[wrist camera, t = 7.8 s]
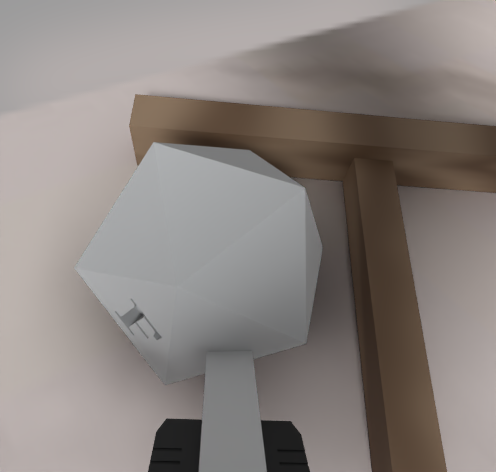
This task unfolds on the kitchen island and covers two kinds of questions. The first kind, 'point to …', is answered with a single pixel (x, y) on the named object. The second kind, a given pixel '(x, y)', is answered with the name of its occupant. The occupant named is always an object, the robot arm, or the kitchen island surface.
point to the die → (206, 258)
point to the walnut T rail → (356, 230)
